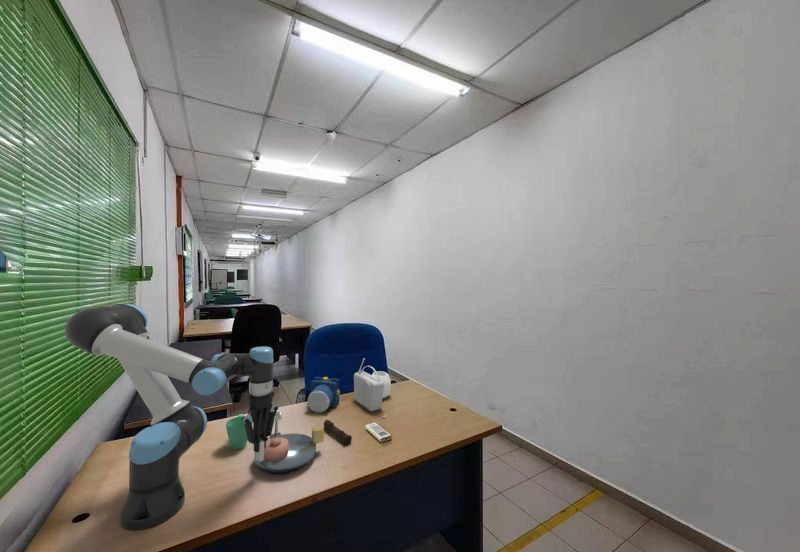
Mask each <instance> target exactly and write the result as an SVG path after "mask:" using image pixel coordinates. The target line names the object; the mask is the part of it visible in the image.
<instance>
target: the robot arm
mask: <svg viewBox="0 0 800 552" xmlns="http://www.w3.org/2000/svg"><path fill="white" fill-rule="evenodd" d="M148 322H149V321H148V315H147V314H146V312H145V311H144V310H143V309H142V308H141V307H139V306H138V305H135V304H131V303H113V304H110V305H102V306H97V307H89V308H88V307H87V308H84V309H82V310H80V311H77V312H76V313H74V314H73V315H71V317H70V318H69V319H68V320H67V322H66V324H65V327H64V336H65V337H66V339H67V341H68V342H69V343H70V344H71V345H72V346H73V347H75V348H77V349H78V350H81V351H83V352H85V353H89V354H91V355H94V356H98V357H99V356H103V355H107V356H109V357H113V358H114V359H115V358H116V359H117V360H118V362H119V363H120V365H121V366H122V368H123V370H124V371H125V374H126V375H127V376H128V378H129V380H130V381H131V382H132V384H133V386H134V388H135V389H136V392H138V394H139V396H140V398H141V399H142V401H143V403H144V404H145V405H146V407H147V409H148V411H149V412H150V413H151V416H152V419H151V422H150V426H148V427H145V428H144V429H142V430H140V431H139V432H138V433H137V434H135V435H134V436H133V438H132V440H131V443H130V448H129V453H128V458H129V465H128V466H129V471H128V472H129V475H128V476H129V477H128V492H127V495H126V498H125V499H124V502H123V505H122V507H121V510H120V514H119V525H120V526H121V527H122V528H123V529H126V530H129V531H131V530H132V531H139V530H144V529H147V528H148V529H149V528H152V527H155V526H157V525H159V524H161V523H163V522H166V521H167V520H169V519H170V518H171V517H173V516H174V515H175V514H177V513H178V512H179V511H180V510H181V509H182V507H183V506H184V505H185V501H186V492H185V489H184V486H183V484H182V482H181V479H180V476H179V475H180V474H179V471H180V459H181V457H183V455H184V454H186V452H187V451H188V450H189V449H190V448H191V447H192V446H193V445H195V443H197V442H198V441H199V440H200V439H201V438H202V435H203V434H204V433H205V431H206V428H207V425H208V417H207V415H206V413H205V411H204V410H203V409H202V408H200V407H197V406H196V405H192V404H191V402H190V400H185V399H182V398H181V396H180V394H179V393H178V391H177V390H176V388H175V386H174V384H173V383H172V381H171V380H170V378H173V379H176V380H179V381H182V382H184V383H188V384H190V385H191V386H192V389H193V390H194V391H195V392H196V393H197V394H198V395H201V396H211V395H212V394H215V393H216V392H217V391H219V390H221V389H222V388H224V386H225V385H226V384H227V383H228V382H230V381H231V380H232V379H234V377H249V378H248V379H249V382H248V383H249V384H248V393H249V394H248V406H249V408H248V412H247V413H248V414H247V415H245V416H246V417H245V418H244V417H243V418H242V419H241V420H242V422H243V423H244V425H245V430H246V434H247V438H248V440H247V443H250V444H251V445H253V452H254V460H255V459H256V460H258V461H260V462H261V461H262V460H264V449H265V448H266V441H267V440H268V439H269V437H270V436H271V434H273V433H272V432H273V428H274V425H275V414H276V412H277V410H279V406H276V405H274V404H273V393H274V392H273V386H274V385H273V384H274V350H273V348H272V347H270V346H256V347H252V348H251V349H250V351H249V353H227V352H224V353H217V354H215V355H214V356H213V355H212V359H210V360H207V359H204V358H201V357H199V356H196V355H193V354H190V353H188V352H185V351H182V350H179V349H176V348H175V347H171V346H169V345H165V344H164V343H163V344H162V343H160V342H158V341H154V340H152V339H150V338H148V335H149V332H148V330H147V325H148ZM169 377H170V378H169ZM251 418H252V419H253V424H252V423H251V421H252V420H251Z"/></svg>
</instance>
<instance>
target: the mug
mask: <svg viewBox="0 0 800 552" xmlns="http://www.w3.org/2000/svg"><path fill="white" fill-rule="evenodd" d="M246 416H247V415H244V414H243V413H240V414H237V416H236V417H233V418H231V419H229V420H227V422H226V423H225V428H226V432H227V437H228V440H229V443H230V445H231V449H233V450H241V449H243V448H245V447H246V445H247V443H248V438H247V434H246V430H245V425H244V423H243V422H242V420H241V419H242V418H243V417H244V418H245V417H246ZM251 420H252V421H251V423H252V425H253V419H252V418H251Z"/></svg>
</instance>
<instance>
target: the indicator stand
mask: <svg viewBox="0 0 800 552" xmlns="http://www.w3.org/2000/svg"><path fill="white" fill-rule="evenodd" d="M282 418H283V414H282V411H280V410H279V409H278V410H277V412H276V414H275V419H274V433H271V436H269V439H270V438H273V437H275V436H279V435H282V434H281V432H280V431H279V421H280V420H282Z"/></svg>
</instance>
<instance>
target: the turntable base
mask: <svg viewBox="0 0 800 552" xmlns="http://www.w3.org/2000/svg"><path fill="white" fill-rule="evenodd" d="M307 465H308V463H307V464H305V465H303V466H301V467H299V468H296V469H293V470H290V471H284V472H270V471H265V470H262V471H263V472H264V473H267V474H269V475H274V476H283V475H288V474H292V473H295V472H297V471H299V470H301V469H303V468H304V467H305V466H307Z"/></svg>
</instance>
